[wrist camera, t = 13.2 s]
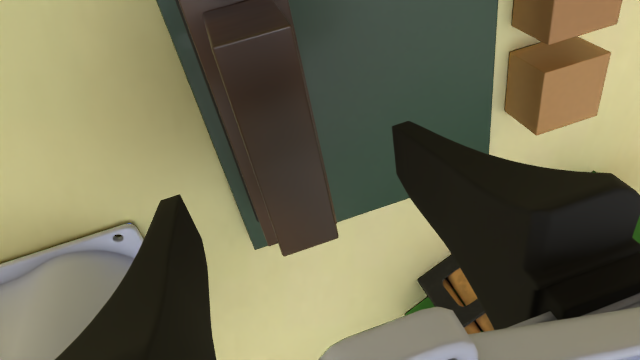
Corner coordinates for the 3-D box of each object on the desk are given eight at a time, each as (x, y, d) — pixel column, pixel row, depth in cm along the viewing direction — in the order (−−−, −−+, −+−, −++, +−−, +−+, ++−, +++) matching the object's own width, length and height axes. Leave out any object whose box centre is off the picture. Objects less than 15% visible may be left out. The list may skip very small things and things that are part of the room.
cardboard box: (504, 111, 28) (536, 135, 26) (509, 51, 26) (544, 73, 23) (560, 93, 28) (597, 115, 26) (570, 32, 26) (611, 52, 24)
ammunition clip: (537, 193, 33) (686, 331, 24) (545, 206, 34) (690, 343, 25) (416, 279, 35) (511, 439, 26) (427, 290, 36) (521, 446, 27)
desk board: (251, 236, 28) (255, 250, 27) (91, -173, 16) (87, -174, 15) (477, 161, 30) (488, 171, 29) (495, -265, 17) (514, -271, 16)
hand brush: (254, 208, 25) (278, 301, 20) (149, -77, 17) (146, -40, 11) (323, 185, 26) (365, 271, 21) (257, -104, 17) (300, -80, 12)
